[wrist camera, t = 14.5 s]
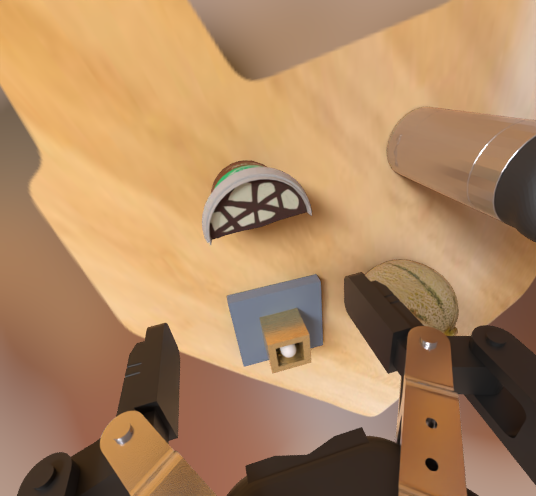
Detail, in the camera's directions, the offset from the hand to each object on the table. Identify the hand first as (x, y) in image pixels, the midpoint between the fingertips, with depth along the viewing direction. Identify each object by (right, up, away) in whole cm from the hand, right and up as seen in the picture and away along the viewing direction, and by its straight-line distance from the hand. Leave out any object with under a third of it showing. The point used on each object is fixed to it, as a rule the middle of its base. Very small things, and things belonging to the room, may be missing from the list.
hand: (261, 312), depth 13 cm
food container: (-3, +12, +25) cm, 28 cm away
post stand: (+2, -9, +39) cm, 40 cm away
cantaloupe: (+20, -3, +40) cm, 45 cm away
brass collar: (+2, -10, +37) cm, 39 cm away
